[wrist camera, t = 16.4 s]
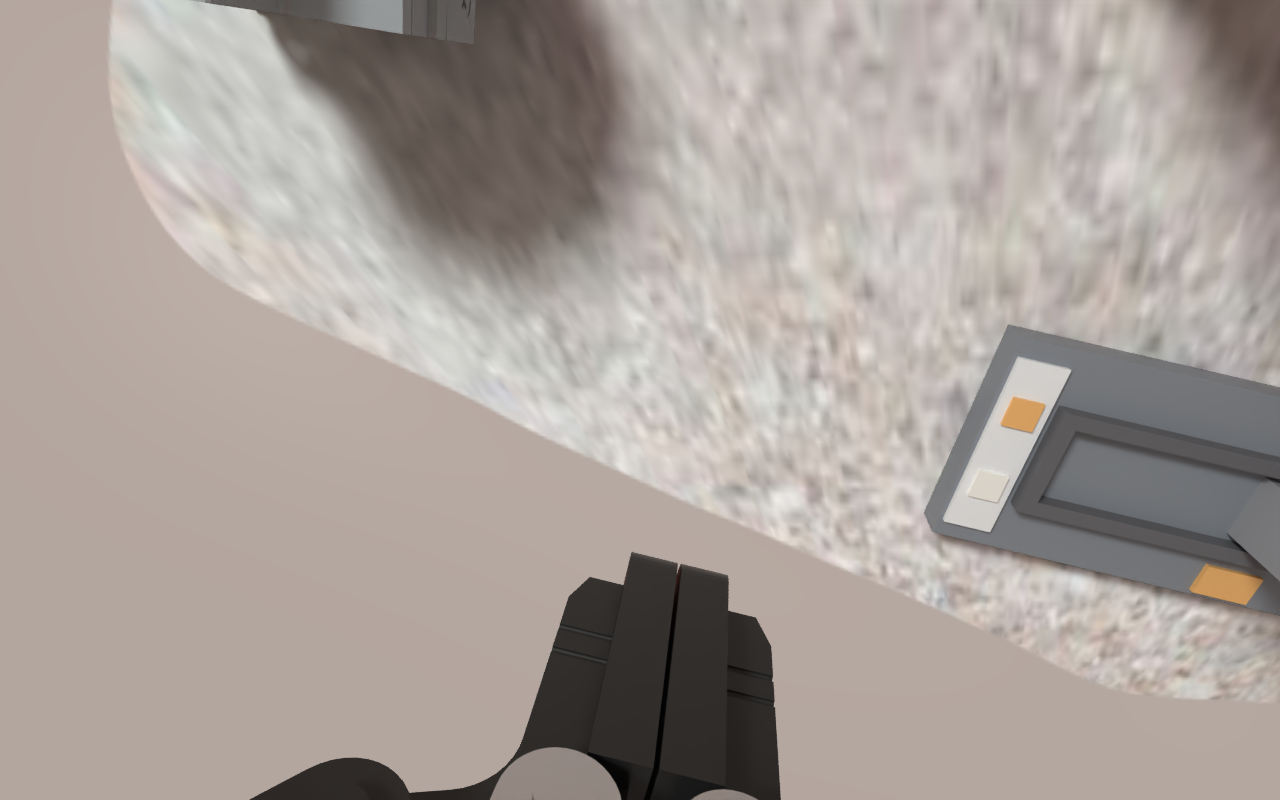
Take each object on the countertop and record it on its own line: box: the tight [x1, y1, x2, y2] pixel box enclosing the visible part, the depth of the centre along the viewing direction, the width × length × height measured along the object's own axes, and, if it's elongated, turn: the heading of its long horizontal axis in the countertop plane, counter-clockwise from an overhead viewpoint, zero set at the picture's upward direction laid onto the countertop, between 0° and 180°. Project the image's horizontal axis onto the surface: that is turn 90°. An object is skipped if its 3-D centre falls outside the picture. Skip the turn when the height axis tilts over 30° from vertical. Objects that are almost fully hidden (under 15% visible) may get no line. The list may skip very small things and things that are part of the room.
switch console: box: [924, 325, 1280, 615], centre depth 38 cm, size 12×32×3 cm, turn 78°
